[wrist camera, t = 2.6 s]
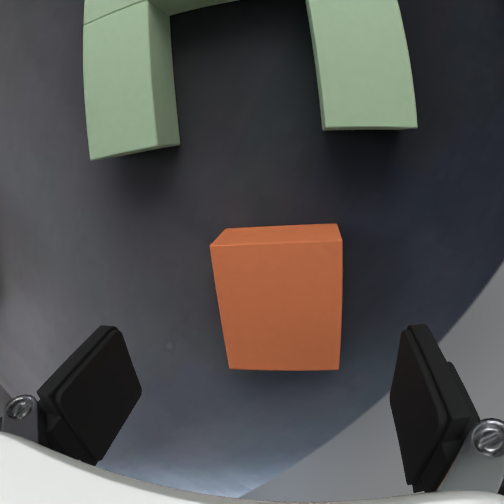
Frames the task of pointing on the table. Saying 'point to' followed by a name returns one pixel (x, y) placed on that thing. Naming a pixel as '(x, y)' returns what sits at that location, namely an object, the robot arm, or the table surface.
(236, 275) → the orange block
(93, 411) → the robot arm
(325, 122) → the base pad
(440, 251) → the table surface
